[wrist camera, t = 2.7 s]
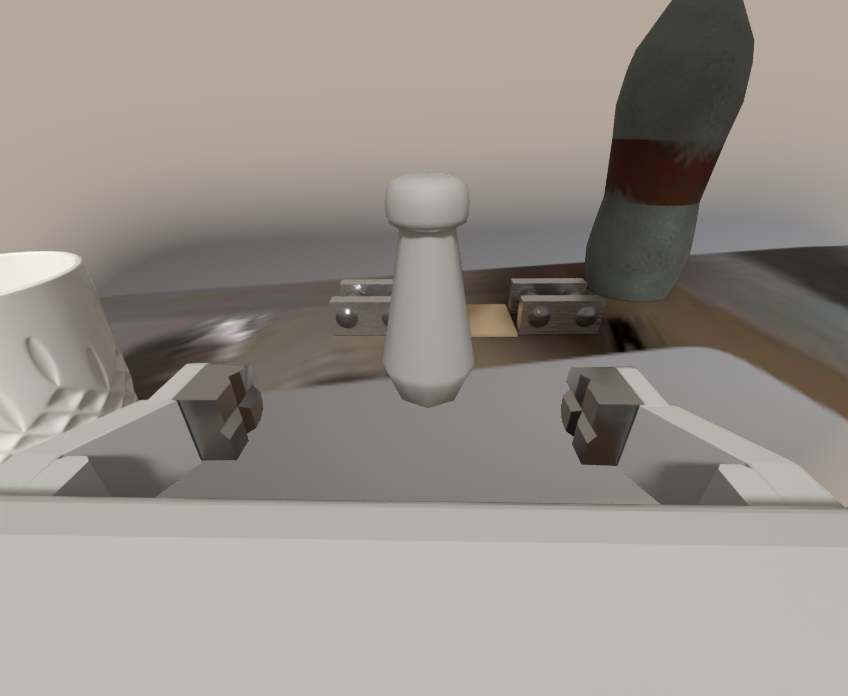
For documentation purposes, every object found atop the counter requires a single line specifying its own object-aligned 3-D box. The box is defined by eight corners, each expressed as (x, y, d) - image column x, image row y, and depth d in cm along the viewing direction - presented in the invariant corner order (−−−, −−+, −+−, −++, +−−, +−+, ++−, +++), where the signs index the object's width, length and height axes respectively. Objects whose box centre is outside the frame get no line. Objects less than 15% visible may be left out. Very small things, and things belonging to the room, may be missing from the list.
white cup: (154, 392, 25) (83, 241, 20) (170, 464, 20) (79, 282, 15) (-10, 445, 21) (-152, 273, 16) (-47, 554, 16) (-280, 346, 10)
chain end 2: (575, 307, 36) (582, 277, 34) (597, 334, 31) (606, 301, 30) (507, 308, 36) (510, 278, 34) (519, 335, 31) (523, 301, 30)
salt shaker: (390, 363, 28) (377, 169, 21) (468, 364, 27) (479, 168, 21) (380, 416, 23) (358, 182, 16) (475, 417, 22) (493, 181, 16)
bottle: (583, 299, 37) (685, -170, 22) (575, 270, 45) (647, -94, 30) (688, 308, 35) (881, -203, 20) (661, 276, 43) (786, -112, 28)
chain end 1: (413, 308, 36) (412, 278, 34) (411, 335, 31) (410, 302, 30) (346, 309, 36) (342, 279, 35) (334, 335, 31) (329, 302, 30)
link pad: (504, 306, 36) (505, 304, 36) (517, 336, 31) (517, 333, 31) (415, 307, 36) (415, 304, 36) (413, 337, 31) (413, 333, 31)
